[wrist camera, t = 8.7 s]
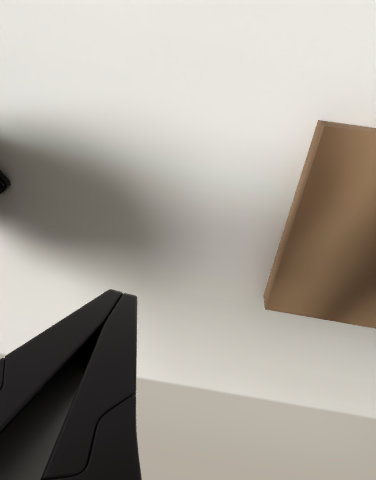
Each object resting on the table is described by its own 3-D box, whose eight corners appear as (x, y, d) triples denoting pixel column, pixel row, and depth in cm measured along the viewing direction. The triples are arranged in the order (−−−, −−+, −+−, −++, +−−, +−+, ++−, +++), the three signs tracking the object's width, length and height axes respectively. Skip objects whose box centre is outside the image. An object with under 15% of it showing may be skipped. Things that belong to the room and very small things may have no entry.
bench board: (263, 295, 25) (265, 309, 24) (318, 120, 18) (324, 125, 17) (409, 320, 24) (419, 335, 23) (521, 149, 18) (544, 157, 16)
